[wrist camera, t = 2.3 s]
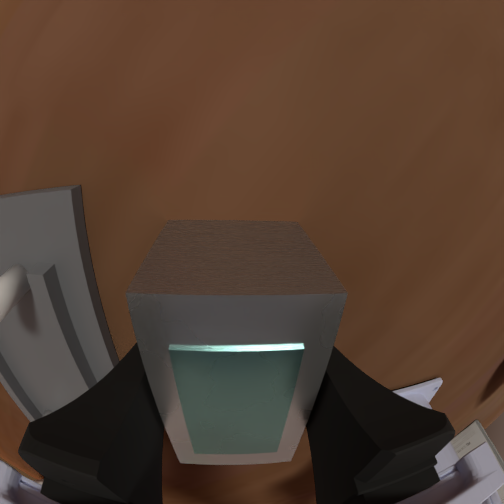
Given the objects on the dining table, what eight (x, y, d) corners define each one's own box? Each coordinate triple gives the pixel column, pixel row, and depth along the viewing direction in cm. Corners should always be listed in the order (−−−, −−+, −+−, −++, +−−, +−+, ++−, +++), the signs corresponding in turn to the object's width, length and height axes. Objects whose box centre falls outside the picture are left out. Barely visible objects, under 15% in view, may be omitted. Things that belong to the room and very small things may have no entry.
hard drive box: (412, 472, 31) (441, 548, 13) (397, 473, 29) (428, 560, 11) (482, 422, 27) (522, 497, 9) (477, 417, 25) (523, 504, 7)
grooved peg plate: (157, 448, 17) (153, 487, 14) (40, 421, 16) (29, 451, 13) (80, 185, 9) (22, 214, 6) (-57, 207, 8) (-97, 230, 4)
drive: (275, 381, 14) (291, 462, 9) (187, 382, 14) (180, 464, 9) (297, 221, 10) (349, 295, 6) (168, 219, 10) (124, 295, 5)
